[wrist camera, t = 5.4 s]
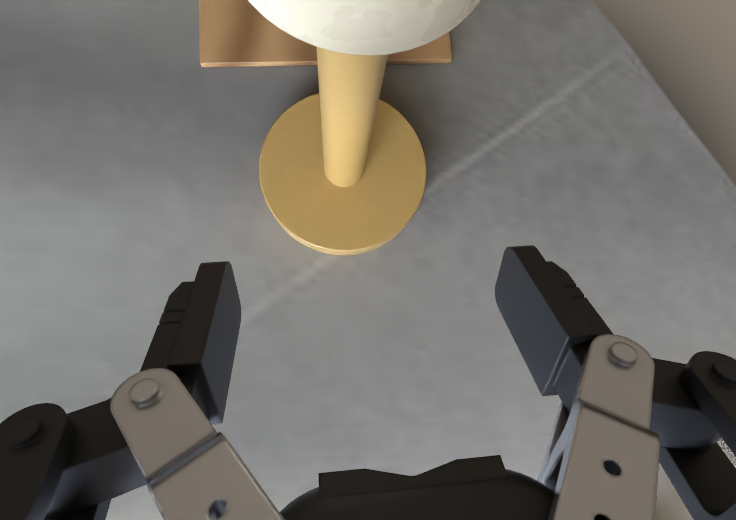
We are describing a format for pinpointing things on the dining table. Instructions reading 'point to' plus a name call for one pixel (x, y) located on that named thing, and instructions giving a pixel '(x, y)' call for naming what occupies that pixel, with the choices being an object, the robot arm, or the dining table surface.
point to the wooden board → (276, 40)
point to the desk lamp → (349, 123)
